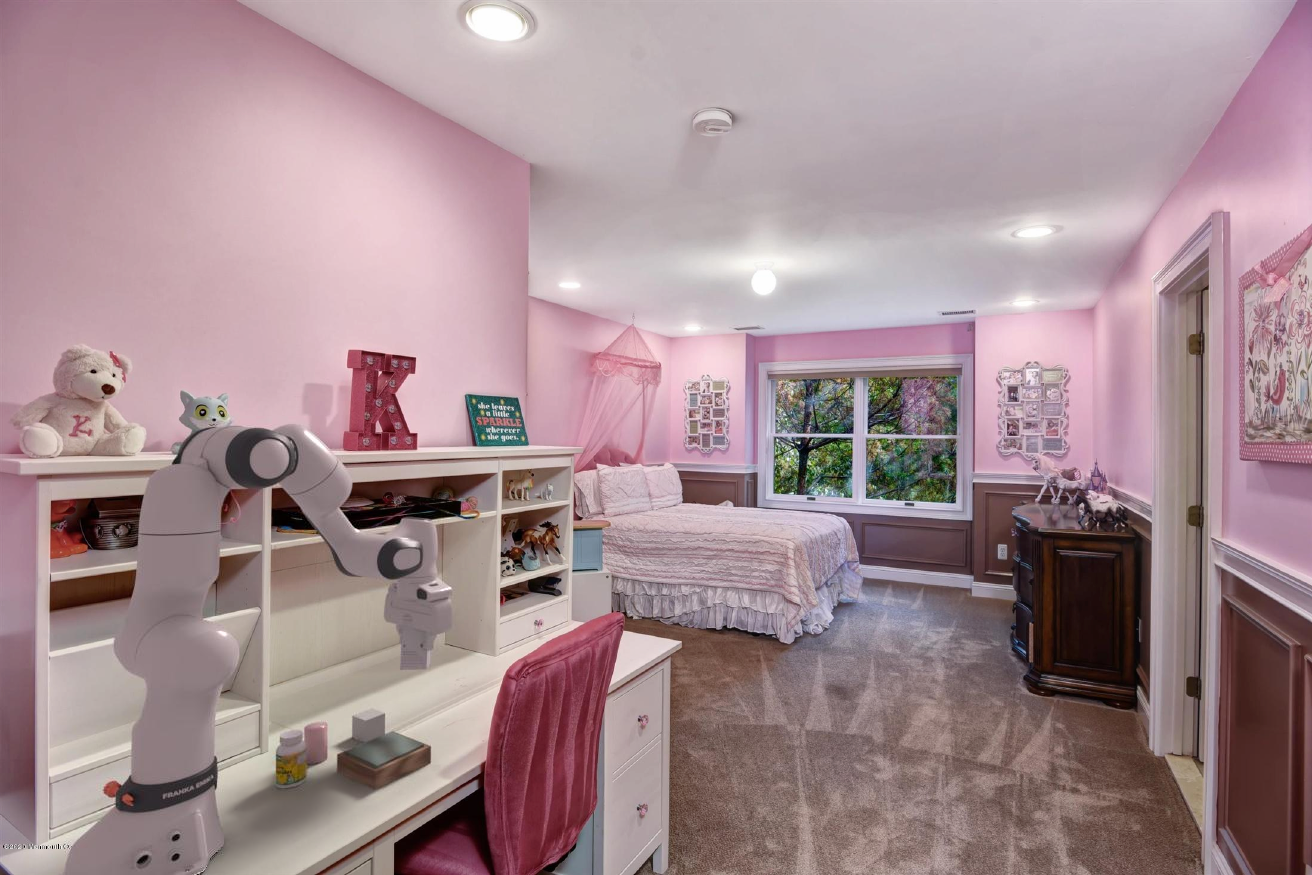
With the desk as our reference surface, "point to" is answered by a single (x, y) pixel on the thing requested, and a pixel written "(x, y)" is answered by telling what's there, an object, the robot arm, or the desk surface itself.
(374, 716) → the light gray block
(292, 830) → the desk surface
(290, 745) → the supplement bottle
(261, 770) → the desk surface
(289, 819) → the desk surface
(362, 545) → the robot arm
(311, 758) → the pink pillar
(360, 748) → the tray
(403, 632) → the skincare box
